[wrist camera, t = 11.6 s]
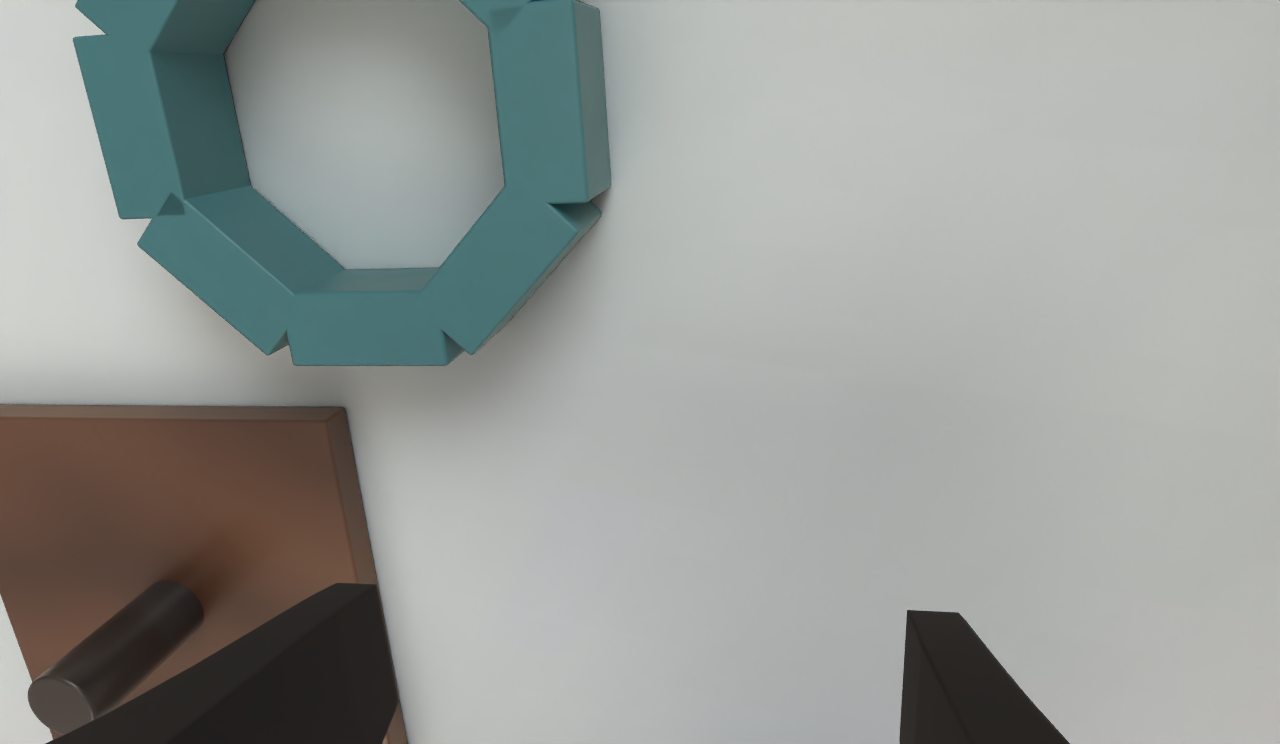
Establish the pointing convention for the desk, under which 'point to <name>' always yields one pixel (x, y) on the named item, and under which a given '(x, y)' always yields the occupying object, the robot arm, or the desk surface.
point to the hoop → (284, 255)
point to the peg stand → (166, 539)
